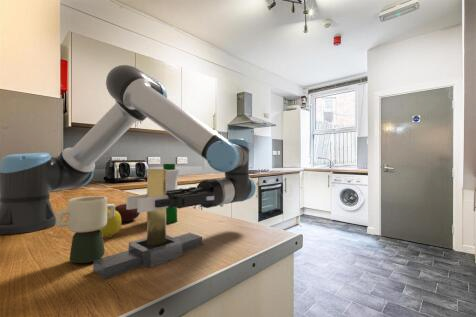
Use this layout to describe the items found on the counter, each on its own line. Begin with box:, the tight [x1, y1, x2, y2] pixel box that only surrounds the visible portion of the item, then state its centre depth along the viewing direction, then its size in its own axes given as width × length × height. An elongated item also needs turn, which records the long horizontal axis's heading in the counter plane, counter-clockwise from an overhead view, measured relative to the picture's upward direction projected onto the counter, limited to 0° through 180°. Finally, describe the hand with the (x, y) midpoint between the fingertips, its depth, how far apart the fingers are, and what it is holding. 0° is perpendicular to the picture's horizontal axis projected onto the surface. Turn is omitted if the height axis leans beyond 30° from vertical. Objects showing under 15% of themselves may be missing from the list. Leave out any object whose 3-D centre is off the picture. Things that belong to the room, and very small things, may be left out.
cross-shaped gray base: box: [92, 232, 203, 280], centre depth 52 cm, size 9×23×3 cm, turn 140°
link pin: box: [146, 168, 167, 245], centre depth 52 cm, size 4×4×16 cm
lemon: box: [99, 208, 122, 238], centre depth 65 cm, size 6×6×8 cm
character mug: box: [55, 195, 116, 264], centre depth 50 cm, size 11×7×13 cm, turn 140°
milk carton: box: [162, 163, 180, 224], centre depth 82 cm, size 9×9×20 cm
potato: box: [115, 203, 140, 223], centre depth 82 cm, size 7×10×6 cm
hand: (132, 204), depth 48 cm, fingers closed on link pin, 4 cm apart
